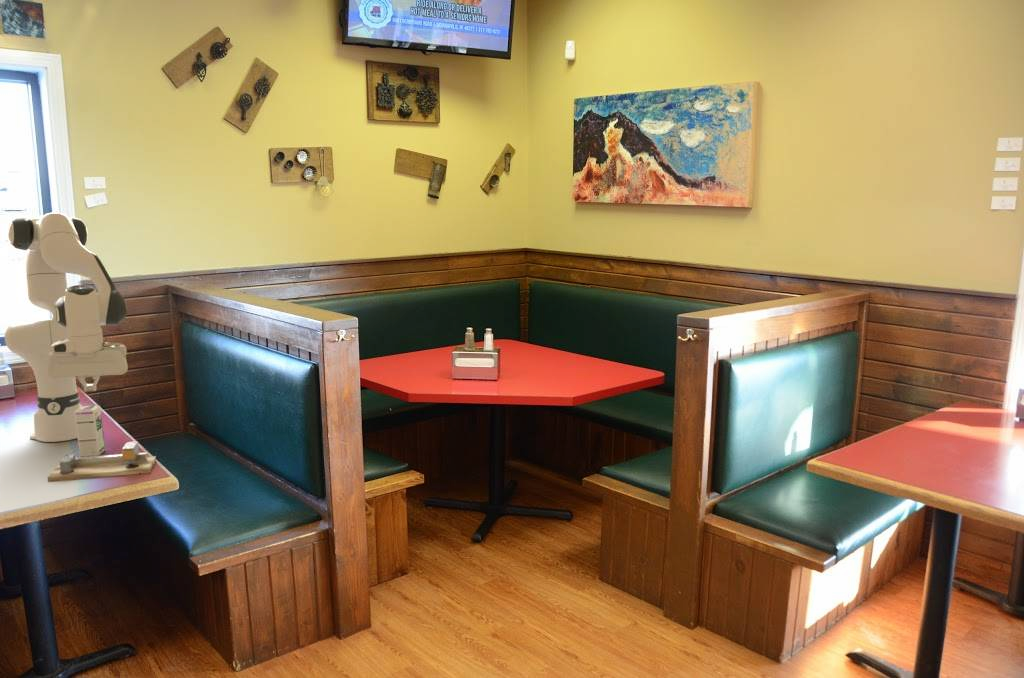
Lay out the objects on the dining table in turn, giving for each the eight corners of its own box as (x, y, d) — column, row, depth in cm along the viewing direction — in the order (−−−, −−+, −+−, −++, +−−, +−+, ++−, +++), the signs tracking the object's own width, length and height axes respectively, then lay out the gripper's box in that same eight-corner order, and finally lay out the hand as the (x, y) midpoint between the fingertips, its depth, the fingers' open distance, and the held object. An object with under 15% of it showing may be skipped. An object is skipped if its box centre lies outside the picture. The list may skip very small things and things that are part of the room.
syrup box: (99, 456, 248) (95, 409, 246) (78, 457, 247) (73, 410, 245) (105, 450, 254) (101, 404, 251) (85, 451, 253) (80, 405, 250)
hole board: (59, 467, 238) (59, 463, 237) (156, 459, 244) (155, 456, 244) (47, 481, 226) (47, 477, 226) (149, 472, 233) (148, 468, 232)
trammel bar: (65, 465, 236) (64, 454, 235) (147, 458, 241) (146, 447, 241) (57, 474, 228) (56, 462, 228) (142, 467, 234) (141, 456, 233)
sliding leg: (128, 460, 239) (126, 442, 238) (139, 459, 240) (138, 441, 239) (123, 468, 232) (121, 449, 231) (135, 467, 233) (133, 448, 232)
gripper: (127, 339, 237) (131, 385, 240) (49, 342, 232) (54, 389, 235) (123, 344, 231) (127, 391, 234) (43, 347, 226) (48, 395, 229)
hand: (90, 390), depth 234 cm, fingers closed
